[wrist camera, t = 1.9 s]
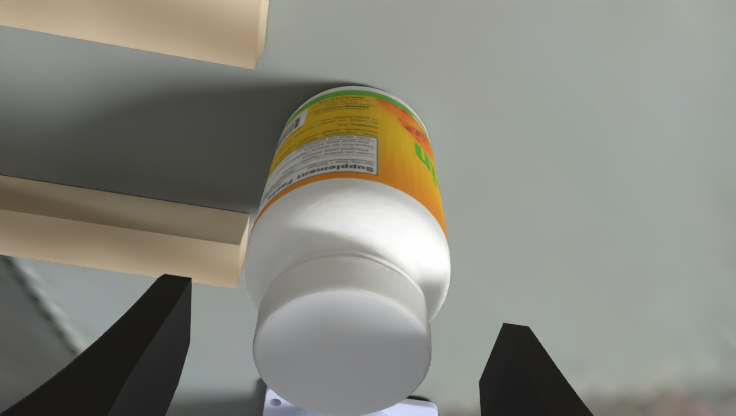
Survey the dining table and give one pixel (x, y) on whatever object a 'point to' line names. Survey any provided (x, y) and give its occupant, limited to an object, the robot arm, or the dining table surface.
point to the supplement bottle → (348, 255)
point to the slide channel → (125, 212)
